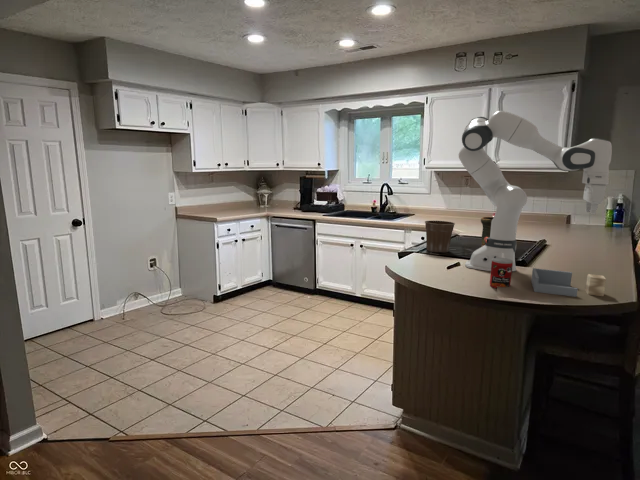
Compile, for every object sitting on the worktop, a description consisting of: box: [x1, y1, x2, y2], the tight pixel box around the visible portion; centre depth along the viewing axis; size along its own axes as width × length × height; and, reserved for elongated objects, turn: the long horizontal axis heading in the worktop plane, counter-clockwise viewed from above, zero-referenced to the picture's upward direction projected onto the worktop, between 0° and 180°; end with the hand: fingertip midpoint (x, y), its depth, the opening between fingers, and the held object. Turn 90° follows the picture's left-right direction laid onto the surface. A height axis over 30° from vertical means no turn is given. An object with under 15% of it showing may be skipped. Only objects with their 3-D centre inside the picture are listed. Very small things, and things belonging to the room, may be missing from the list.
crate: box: [530, 267, 578, 298], centre depth 166 cm, size 14×16×6 cm
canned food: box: [489, 258, 513, 289], centre depth 169 cm, size 8×8×11 cm
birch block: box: [585, 273, 607, 297], centre depth 160 cm, size 5×5×7 cm
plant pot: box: [424, 220, 456, 254], centre depth 236 cm, size 16×16×16 cm
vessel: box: [480, 216, 494, 247], centre depth 230 cm, size 14×14×20 cm
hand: (590, 213), depth 176 cm, fingers open, 8 cm apart
